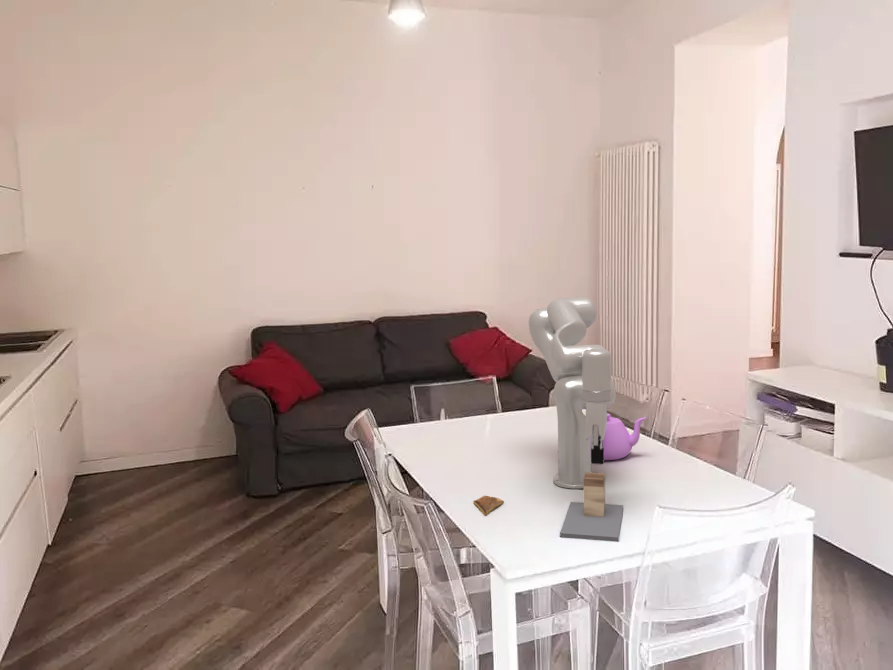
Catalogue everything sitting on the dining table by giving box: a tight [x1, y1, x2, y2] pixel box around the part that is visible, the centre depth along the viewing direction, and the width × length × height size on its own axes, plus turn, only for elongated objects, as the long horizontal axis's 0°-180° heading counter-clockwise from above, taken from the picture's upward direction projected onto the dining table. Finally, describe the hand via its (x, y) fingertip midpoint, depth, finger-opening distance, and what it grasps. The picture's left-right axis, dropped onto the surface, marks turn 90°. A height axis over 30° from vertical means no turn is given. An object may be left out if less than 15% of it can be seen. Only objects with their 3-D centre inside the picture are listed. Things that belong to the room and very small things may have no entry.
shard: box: [473, 495, 505, 516], centre depth 220 cm, size 11×8×2 cm
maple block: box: [583, 472, 606, 517], centre depth 210 cm, size 5×5×10 cm
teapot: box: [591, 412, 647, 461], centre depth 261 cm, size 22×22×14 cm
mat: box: [559, 501, 624, 542], centre depth 207 cm, size 22×14×1 cm, turn 165°
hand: (597, 462), depth 216 cm, fingers closed
